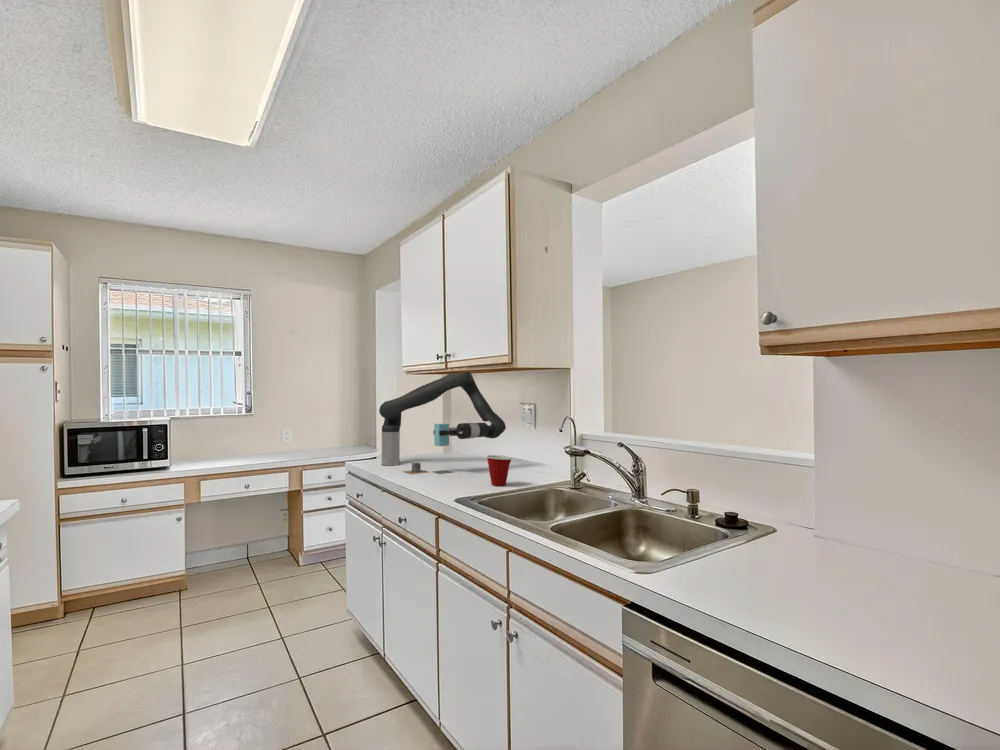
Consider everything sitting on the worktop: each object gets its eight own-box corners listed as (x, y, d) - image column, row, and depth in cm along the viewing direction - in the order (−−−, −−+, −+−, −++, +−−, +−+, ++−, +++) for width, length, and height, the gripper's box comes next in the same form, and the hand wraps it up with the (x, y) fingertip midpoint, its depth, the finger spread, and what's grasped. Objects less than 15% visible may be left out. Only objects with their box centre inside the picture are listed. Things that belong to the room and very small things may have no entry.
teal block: (434, 445, 242) (434, 423, 243) (443, 444, 245) (443, 423, 245) (439, 446, 238) (439, 424, 238) (449, 445, 241) (448, 423, 241)
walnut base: (401, 473, 243) (401, 462, 243) (421, 471, 249) (421, 461, 249) (410, 476, 235) (410, 465, 235) (430, 474, 241) (430, 463, 241)
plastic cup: (516, 486, 210) (516, 457, 211) (490, 488, 207) (490, 458, 207) (507, 482, 221) (507, 453, 221) (482, 483, 217) (482, 454, 218)
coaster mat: (431, 473, 242) (431, 471, 242) (446, 472, 247) (446, 470, 247) (439, 476, 236) (439, 473, 236) (454, 474, 240) (454, 472, 240)
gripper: (460, 422, 256) (429, 424, 246) (475, 423, 244) (443, 425, 234) (460, 437, 256) (429, 439, 246) (476, 439, 244) (444, 442, 234)
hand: (436, 432), depth 240 cm, fingers closed on teal block, 5 cm apart
